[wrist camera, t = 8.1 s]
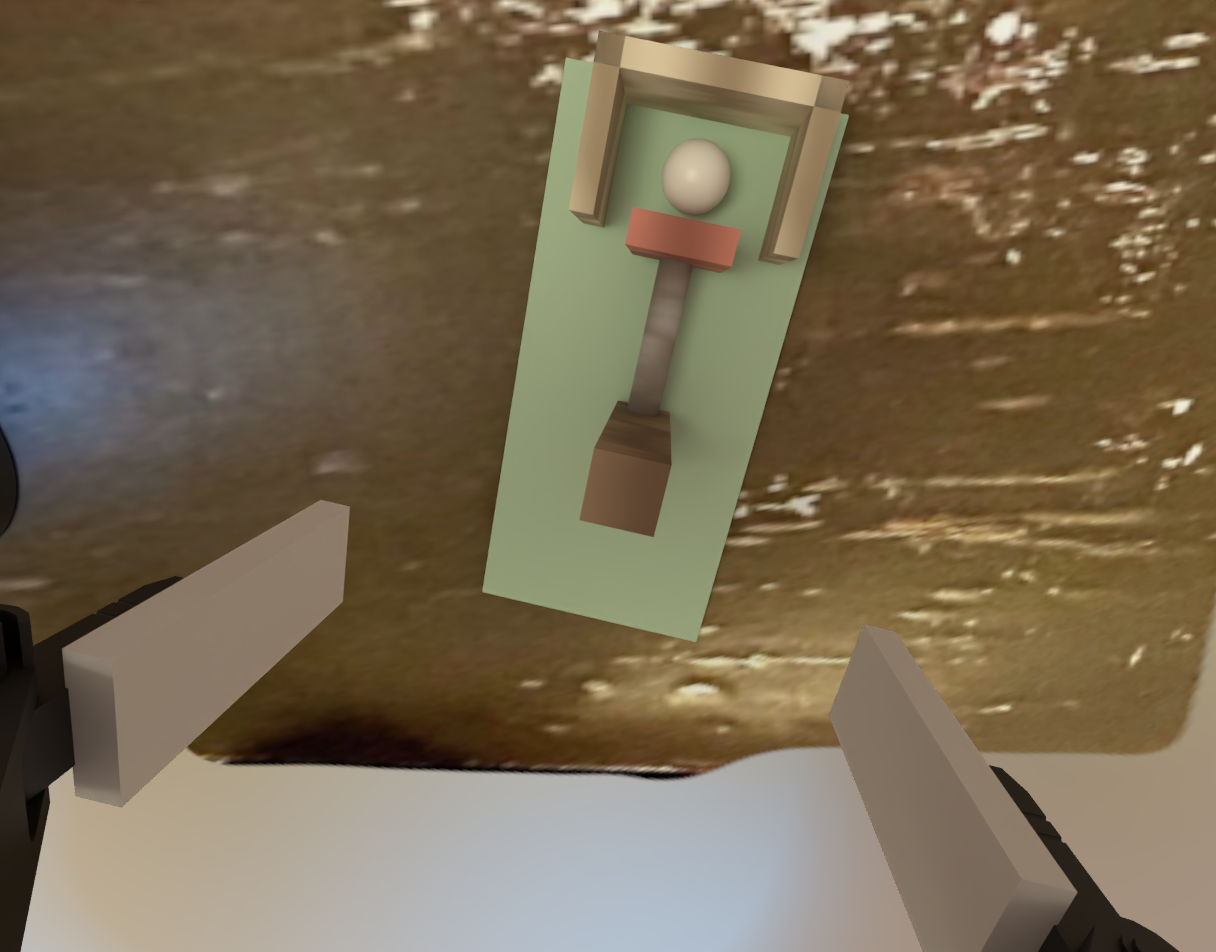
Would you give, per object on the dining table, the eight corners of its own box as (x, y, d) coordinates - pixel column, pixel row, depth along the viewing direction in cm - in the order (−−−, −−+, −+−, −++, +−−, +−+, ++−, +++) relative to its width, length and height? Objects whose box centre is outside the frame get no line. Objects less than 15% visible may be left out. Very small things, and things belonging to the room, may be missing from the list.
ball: (672, 126, 30) (658, 197, 33) (666, 138, 28) (651, 215, 30) (739, 139, 30) (720, 210, 32) (739, 154, 27) (719, 229, 30)
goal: (582, 223, 33) (568, 209, 28) (609, 73, 31) (599, 30, 26) (779, 265, 32) (798, 258, 28) (820, 116, 30) (849, 80, 25)
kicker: (592, 447, 36) (558, 515, 25) (638, 224, 32) (623, 180, 21) (672, 465, 36) (674, 542, 24) (727, 242, 32) (761, 209, 21)
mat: (483, 589, 40) (482, 591, 40) (567, 60, 31) (565, 57, 31) (696, 638, 40) (696, 642, 40) (847, 117, 30) (849, 114, 30)
